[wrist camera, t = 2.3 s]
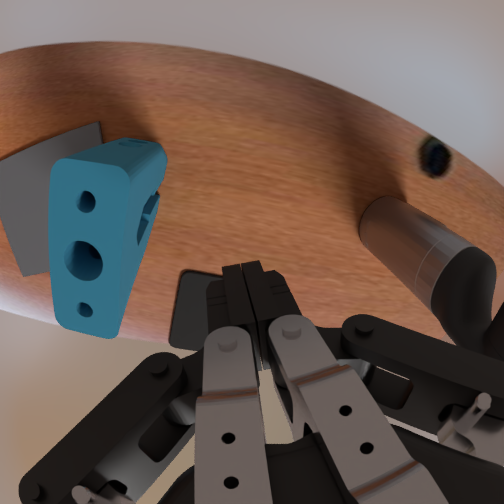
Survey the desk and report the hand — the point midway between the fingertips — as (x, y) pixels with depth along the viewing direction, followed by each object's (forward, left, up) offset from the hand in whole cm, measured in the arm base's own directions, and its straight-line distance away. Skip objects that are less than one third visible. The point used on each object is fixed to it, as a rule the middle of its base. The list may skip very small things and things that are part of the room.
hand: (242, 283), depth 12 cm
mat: (+23, 0, -25) cm, 34 cm away
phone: (+6, +21, -26) cm, 34 cm away
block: (+9, 0, -25) cm, 27 cm away
